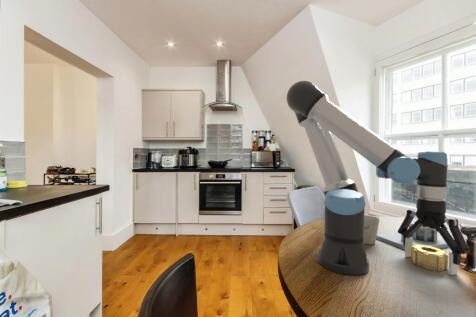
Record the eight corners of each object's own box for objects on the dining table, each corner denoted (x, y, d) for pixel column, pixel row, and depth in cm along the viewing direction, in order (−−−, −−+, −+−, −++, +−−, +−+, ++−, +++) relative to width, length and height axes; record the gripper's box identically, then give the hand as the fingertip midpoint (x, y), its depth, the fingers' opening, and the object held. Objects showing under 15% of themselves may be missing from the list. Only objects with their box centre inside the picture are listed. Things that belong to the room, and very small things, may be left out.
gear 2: (434, 273, 72) (435, 257, 72) (404, 260, 81) (405, 246, 81) (453, 269, 75) (454, 253, 75) (423, 257, 84) (423, 243, 84)
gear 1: (427, 243, 93) (427, 228, 93) (403, 235, 102) (403, 222, 102) (442, 241, 96) (443, 226, 96) (418, 233, 105) (418, 220, 105)
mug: (381, 246, 93) (382, 221, 93) (347, 243, 96) (348, 218, 95) (374, 239, 101) (374, 215, 101) (342, 236, 104) (343, 213, 104)
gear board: (413, 253, 87) (414, 234, 87) (375, 238, 102) (375, 222, 102) (448, 247, 94) (449, 229, 94) (407, 234, 109) (408, 218, 109)
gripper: (487, 206, 67) (484, 281, 68) (401, 192, 91) (400, 248, 91) (471, 207, 65) (468, 285, 65) (387, 193, 88) (385, 251, 88)
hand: (428, 264), depth 78 cm, fingers open, 12 cm apart
